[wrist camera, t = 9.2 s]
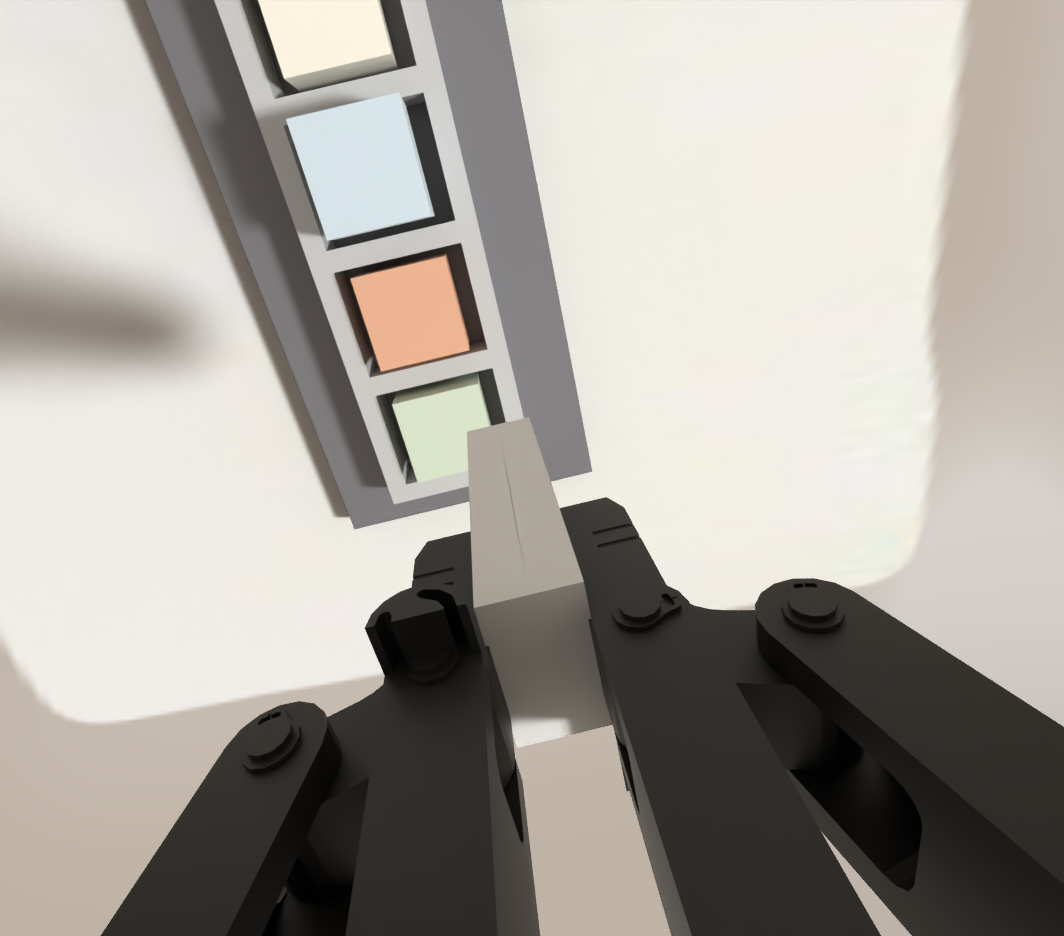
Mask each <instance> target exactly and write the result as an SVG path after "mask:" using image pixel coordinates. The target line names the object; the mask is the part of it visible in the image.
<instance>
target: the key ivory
mask: <svg viewBox="0 0 1064 936" xmlns="http://www.w3.org/2000/svg"><path fill="white" fill-rule="evenodd" d="M258 2H259V5H260V8H261V11H262V14H263V17H264V20H265V23H266V26H267V29H268V32H269V35H270V38H271V41H272V44H273V47H274V50H275V53H276V56H277V59H278V62H279V65H280V68H281V71H282V74H283V77H284V79H285V80H286V81H287V82H289V83H290V84H291V85H293V86H294V87H295V88H296V89H298V90H299V91H300V92H305V91H310V90H314V89H318V88H322V87H326V86H331V85H335V84H339V83H343V82H348V81H352V80H356V79H360V78H365V77H369V76H373V75H377V74H382V73H386V72H390V71H394V70H398V66H397V62H396V58H395V54H394V51H393V47H392V43H391V39H390V35H389V32H388V28H387V24H386V20H385V16H384V12H383V9H382V5H381V1H380V0H258Z"/></svg>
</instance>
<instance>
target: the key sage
mask: <svg viewBox="0 0 1064 936" xmlns="http://www.w3.org/2000/svg"><path fill="white" fill-rule="evenodd" d="M392 406H393V409H394V412H395V415H396V418H397V421H398V424H399V427H400V430H401V433H402V436H403V439H404V442H405V445H406V448H407V451H408V454H409V457H410V460H411V463H412V466H413V469H414V473H415V476H416V479H417V482H423V481H427V480H431V479H435V478H439V477H443V476H447V475H451V474H456V473H460V472H464V471H468V449H467V431H471V430H476V429H480V428H484V427H489V426H492V425H491V421H490V418H489V414H488V410H487V406H486V402H485V398H484V395H483V391H482V387H481V383H480V379H479V376H478V372H473V373H469V374H465V375H461V376H457V377H453V378H449V379H444V380H440V381H436V382H432V383H428V384H424V385H420V386H415V387H411V388H407V389H403V390H399V391H397V393H396V396H395V398H394V401H393V403H392Z"/></svg>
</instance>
